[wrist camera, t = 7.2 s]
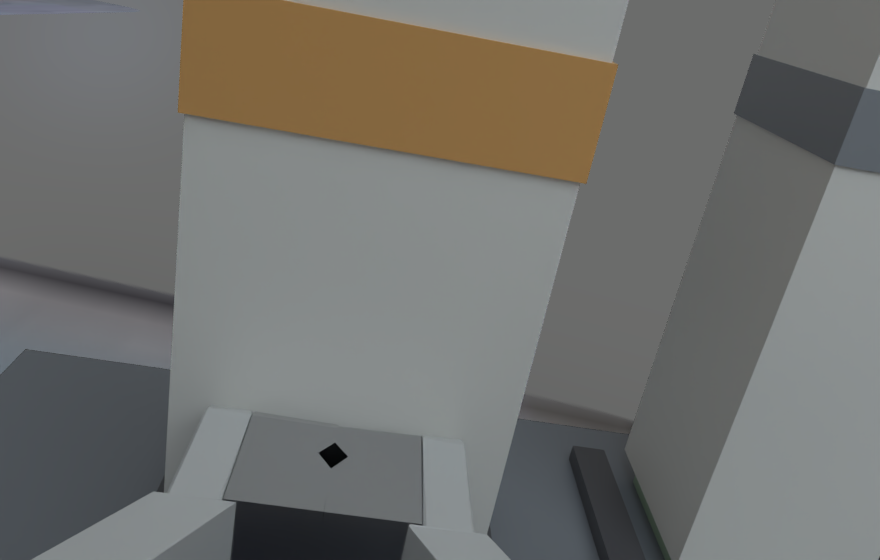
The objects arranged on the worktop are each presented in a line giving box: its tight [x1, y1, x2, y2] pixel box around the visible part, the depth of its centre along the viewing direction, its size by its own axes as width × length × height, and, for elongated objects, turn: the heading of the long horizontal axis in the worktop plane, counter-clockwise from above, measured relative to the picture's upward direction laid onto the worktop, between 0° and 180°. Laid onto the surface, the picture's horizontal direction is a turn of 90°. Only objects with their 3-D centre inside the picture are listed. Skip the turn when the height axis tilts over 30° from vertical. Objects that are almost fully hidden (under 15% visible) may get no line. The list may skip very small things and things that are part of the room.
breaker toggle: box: [164, 0, 629, 534], centre depth 11 cm, size 4×4×11 cm
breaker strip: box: [0, 0, 880, 560], centre depth 12 cm, size 20×14×13 cm
